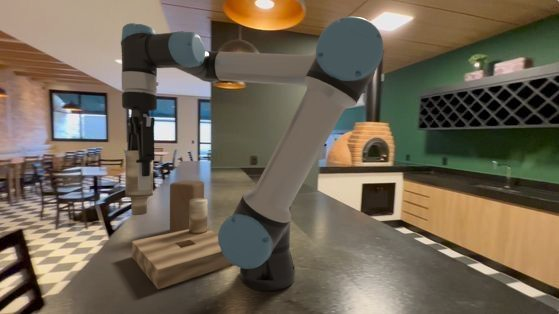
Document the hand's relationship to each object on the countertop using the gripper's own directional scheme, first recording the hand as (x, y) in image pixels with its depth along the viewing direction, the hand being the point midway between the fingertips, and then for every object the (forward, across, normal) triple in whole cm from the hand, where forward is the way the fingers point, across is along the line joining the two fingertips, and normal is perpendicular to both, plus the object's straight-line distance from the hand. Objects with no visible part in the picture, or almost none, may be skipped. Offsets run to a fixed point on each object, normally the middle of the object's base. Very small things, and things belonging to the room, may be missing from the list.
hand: (140, 187), depth 67 cm
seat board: (+25, +7, -15) cm, 30 cm away
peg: (+6, 0, 0) cm, 6 cm away
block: (+25, +31, -26) cm, 47 cm away
